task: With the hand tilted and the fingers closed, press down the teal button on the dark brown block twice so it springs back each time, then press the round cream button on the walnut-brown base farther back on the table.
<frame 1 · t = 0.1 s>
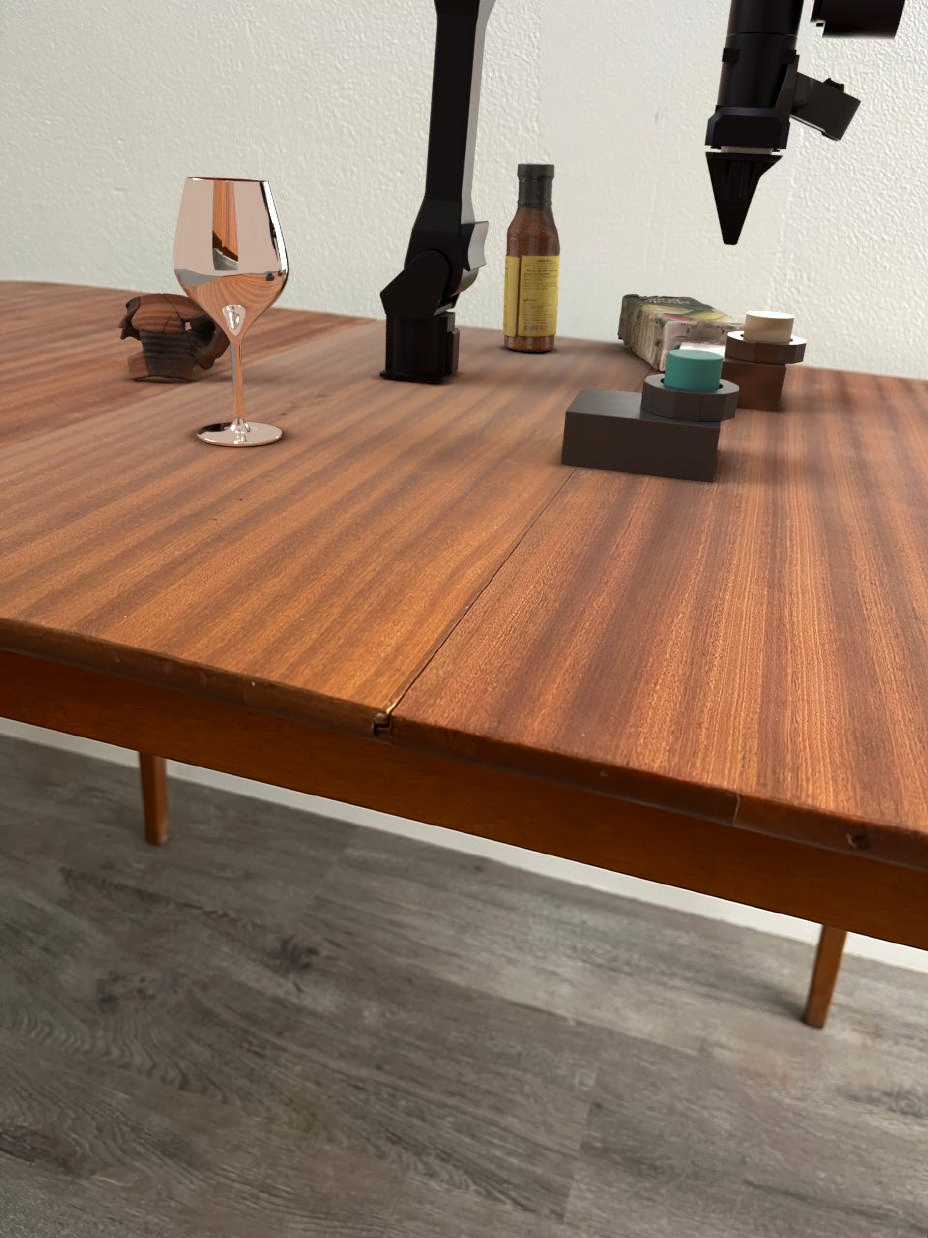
hand: (730, 241, 87), 15 cm above the table, tool pointing down, fingers open, 9 cm apart
sauce bottle: (526, 350, 117), on the table
bell button: (768, 328, 94), point 7 cm above the table, slide at 0.1 cm
dark brown block: (640, 457, 76), on the table
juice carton: (673, 359, 116), on the table
teal button: (693, 371, 73), point 7 cm above the table, slide at 0.1 cm
pottery mug: (179, 375, 95), on the table
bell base: (724, 396, 98), on the table
wineglass: (240, 437, 76), on the table
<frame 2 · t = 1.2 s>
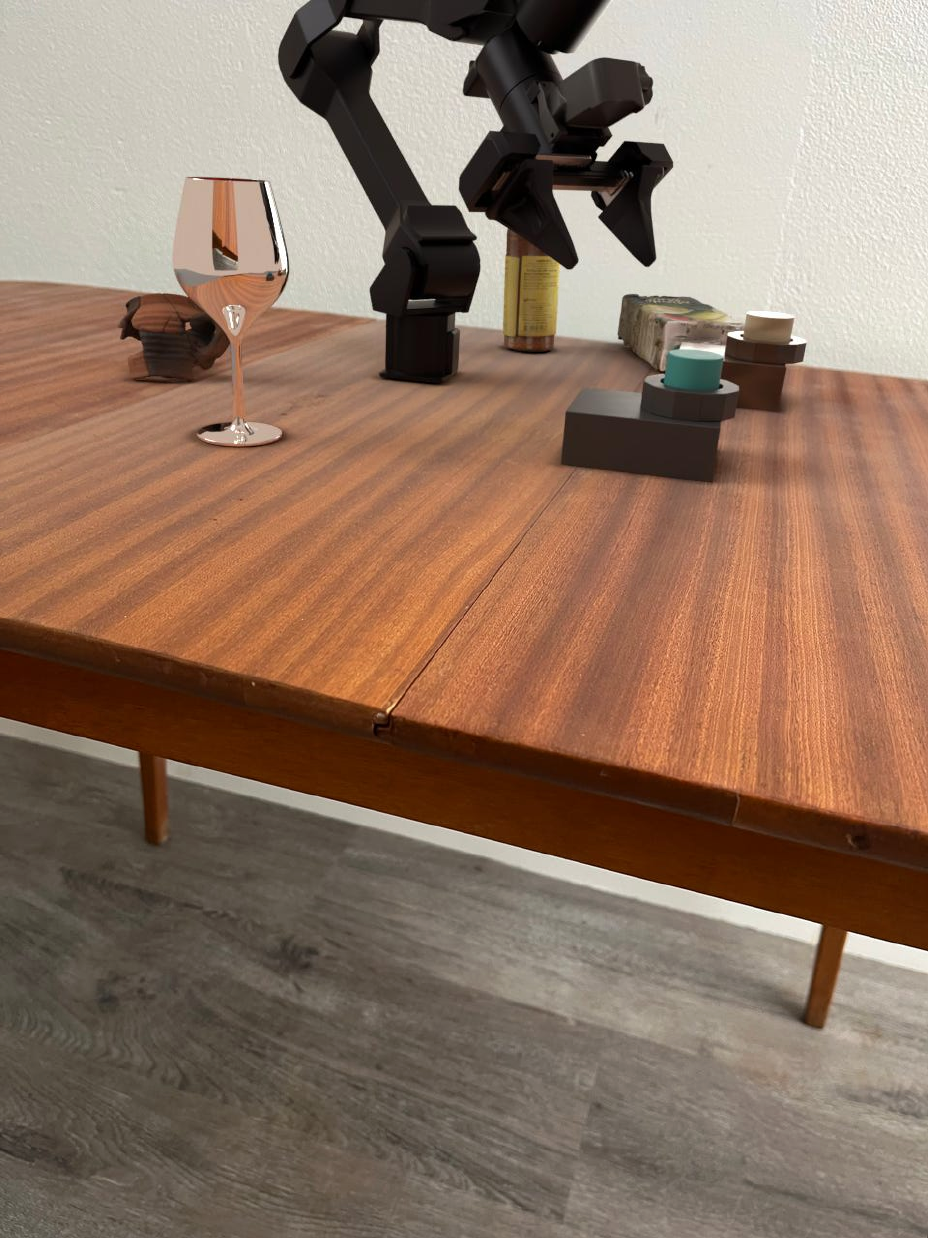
hand: (613, 264, 77), 13 cm above the table, tool tilted 45°, fingers open, 8 cm apart
nothing on the table moved.
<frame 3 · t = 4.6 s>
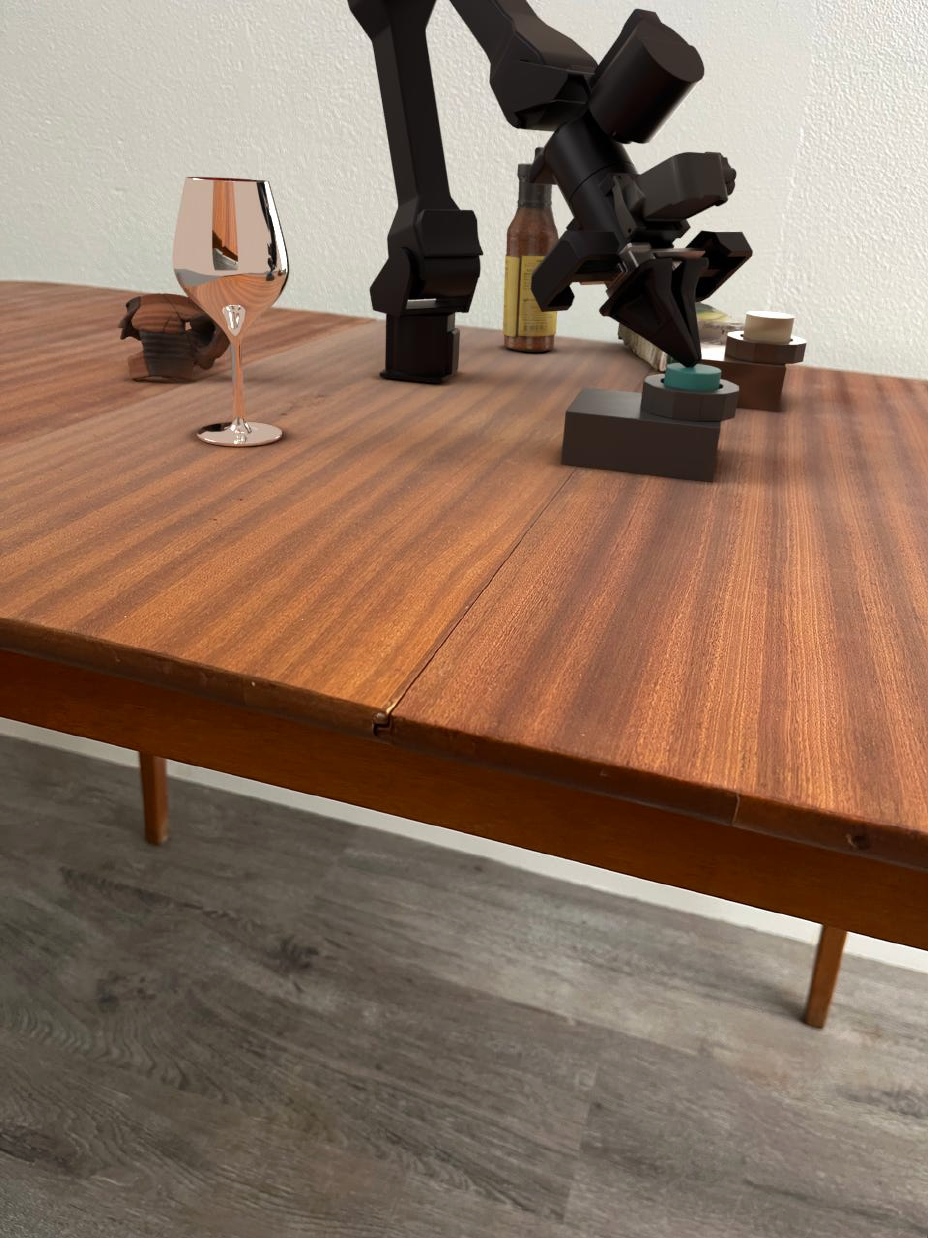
hand: (694, 363, 72), 7 cm above the table, tool tilted 45°, fingers closed, pressing on teal button
teal button: (691, 385, 73), point 6 cm above the table, slide at -0.9 cm, touching gripper
everything else where it was.
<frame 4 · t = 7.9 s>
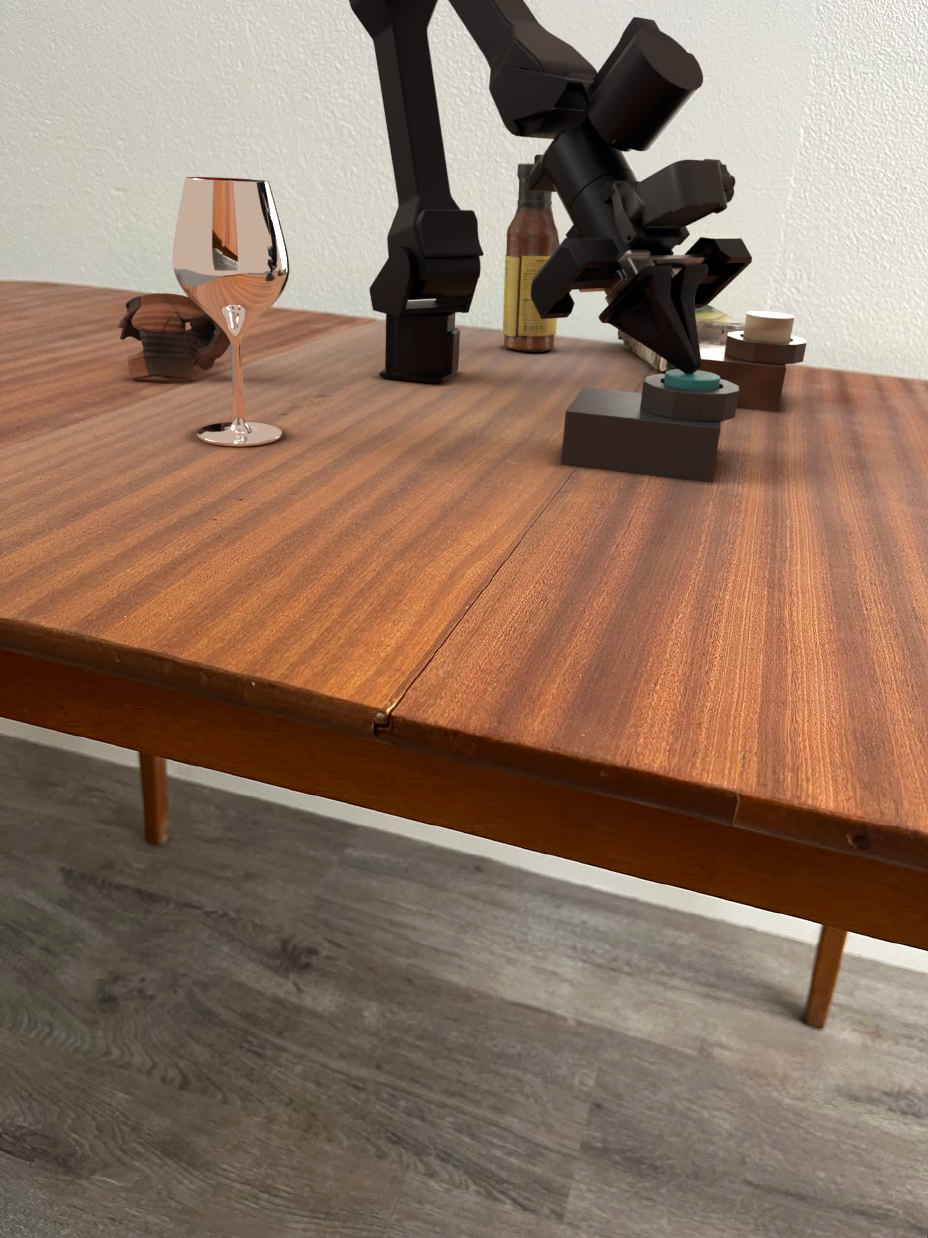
hand: (694, 370, 73), 7 cm above the table, tool tilted 45°, fingers closed, pressing on teal button
teal button: (690, 391, 73), point 5 cm above the table, slide at -1.4 cm, touching gripper
everything else where it was.
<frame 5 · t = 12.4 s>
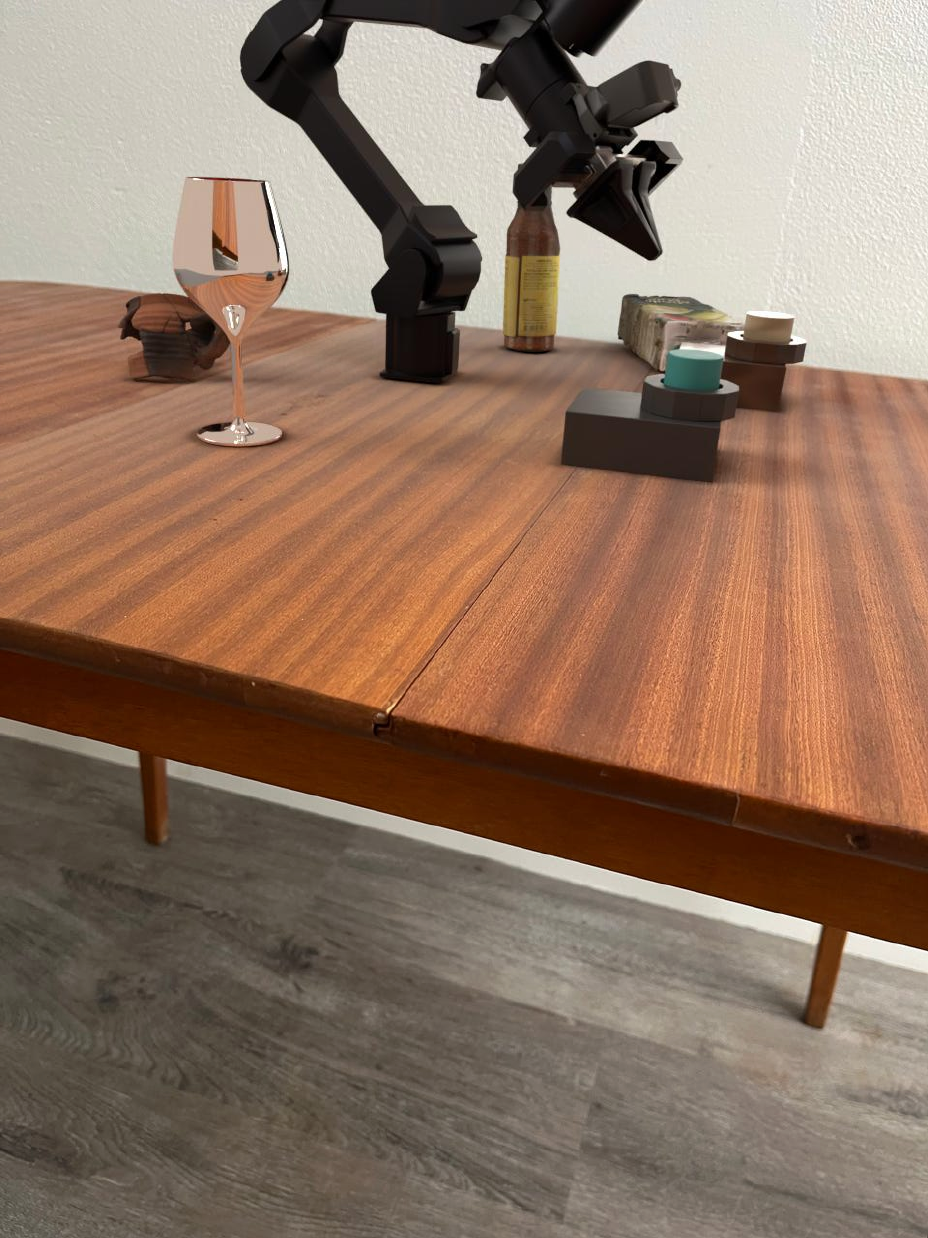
hand: (656, 257, 81), 14 cm above the table, tool tilted 45°, fingers closed
teal button: (693, 371, 73), point 7 cm above the table, slide at 0.1 cm
everything else where it was.
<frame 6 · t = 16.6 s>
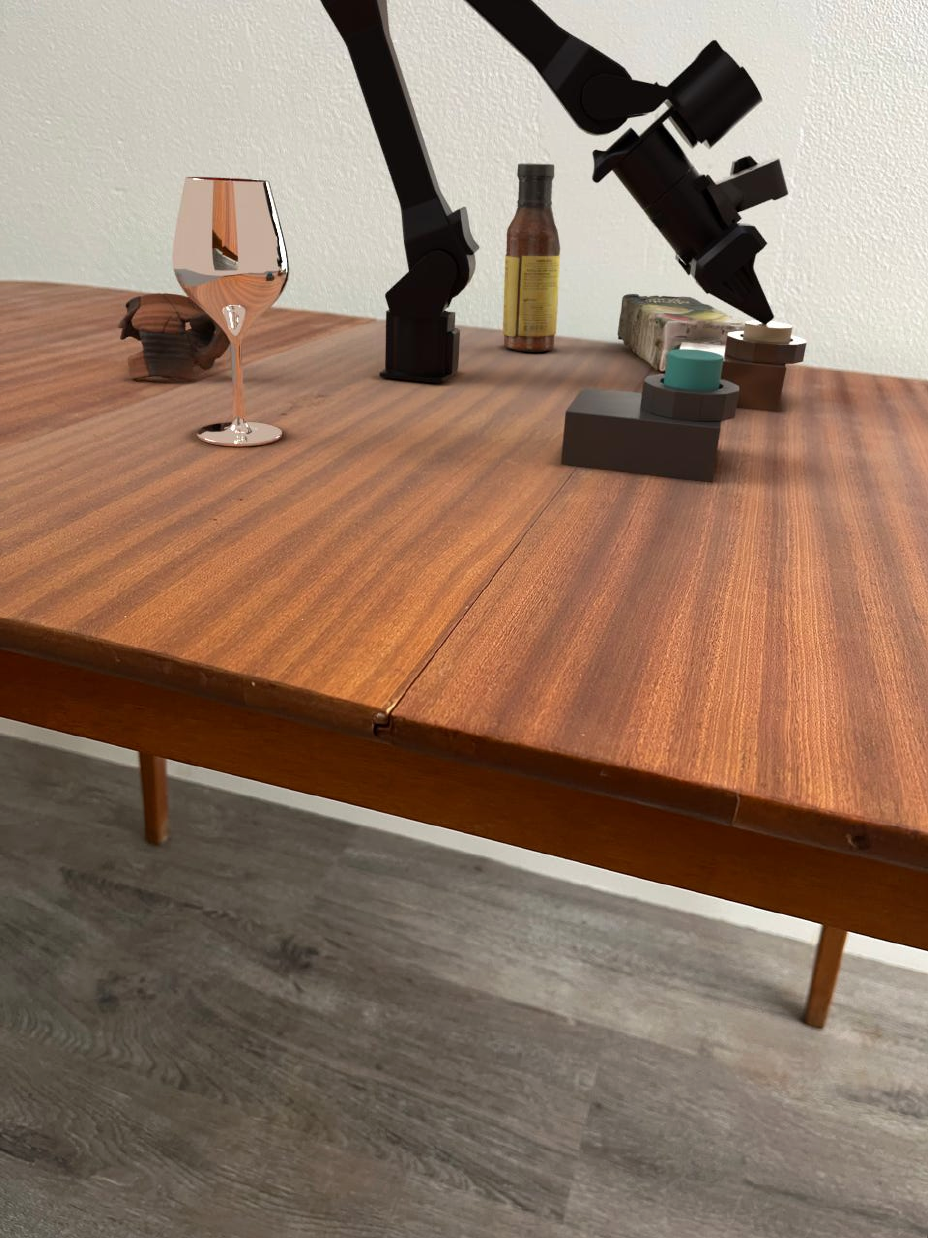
hand: (769, 320, 94), 8 cm above the table, tool tilted 45°, fingers closed, pressing on bell button
bell button: (766, 337, 95), point 6 cm above the table, slide at -0.8 cm, touching gripper
everything else where it was.
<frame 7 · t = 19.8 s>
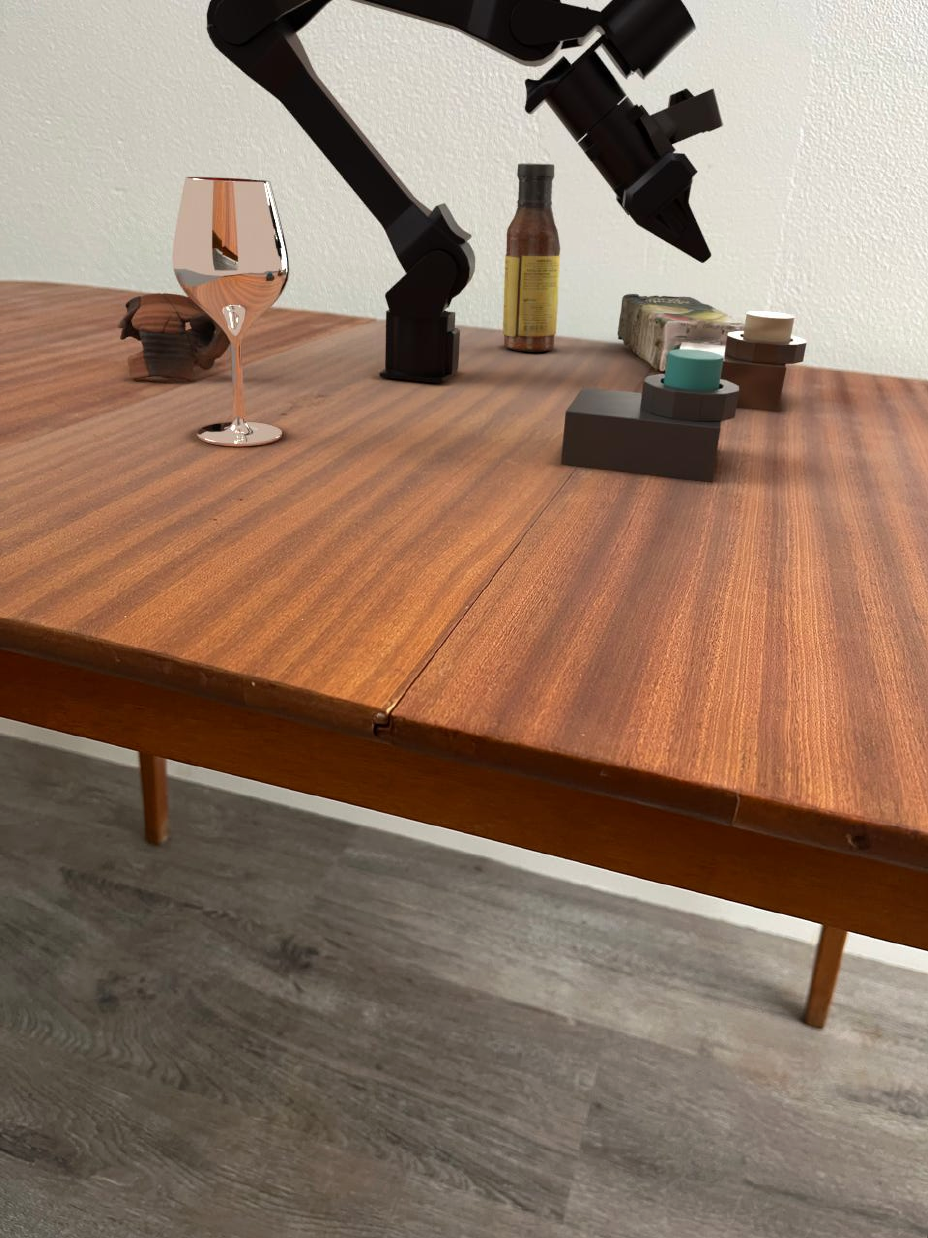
hand: (707, 259, 92), 13 cm above the table, tool tilted 45°, fingers closed
bell button: (768, 328, 94), point 7 cm above the table, slide at 0.1 cm
everything else where it was.
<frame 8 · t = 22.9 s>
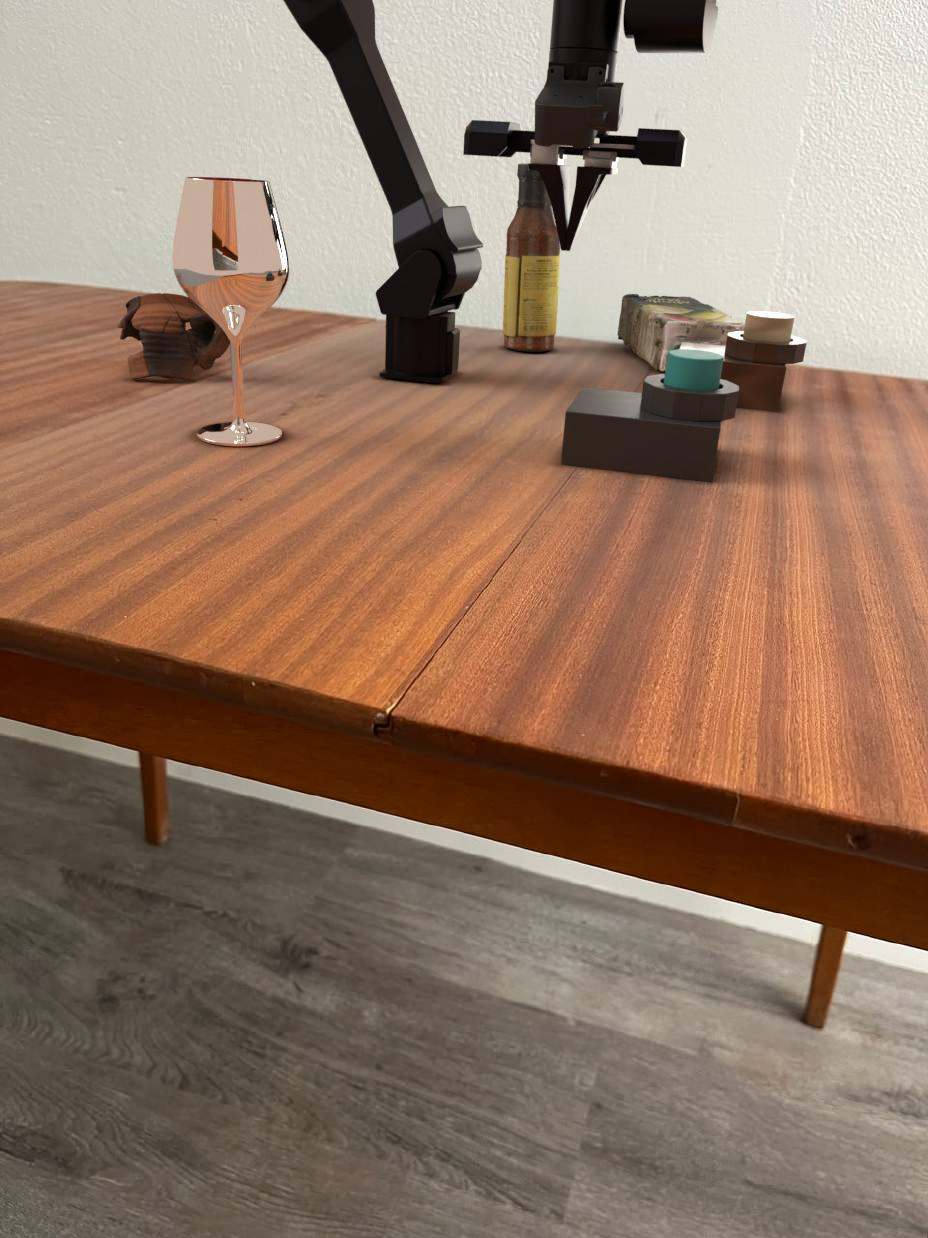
hand: (566, 250, 89), 13 cm above the table, tool pointing down, fingers closed
nothing on the table moved.
at the end: teal button pushed in 1.4 cm at the most during the clip, back to where it started at the end; teal button slide at 0.1 cm; bell button pushed in 1.3 cm at the most during the clip, back to where it started at the end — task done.
